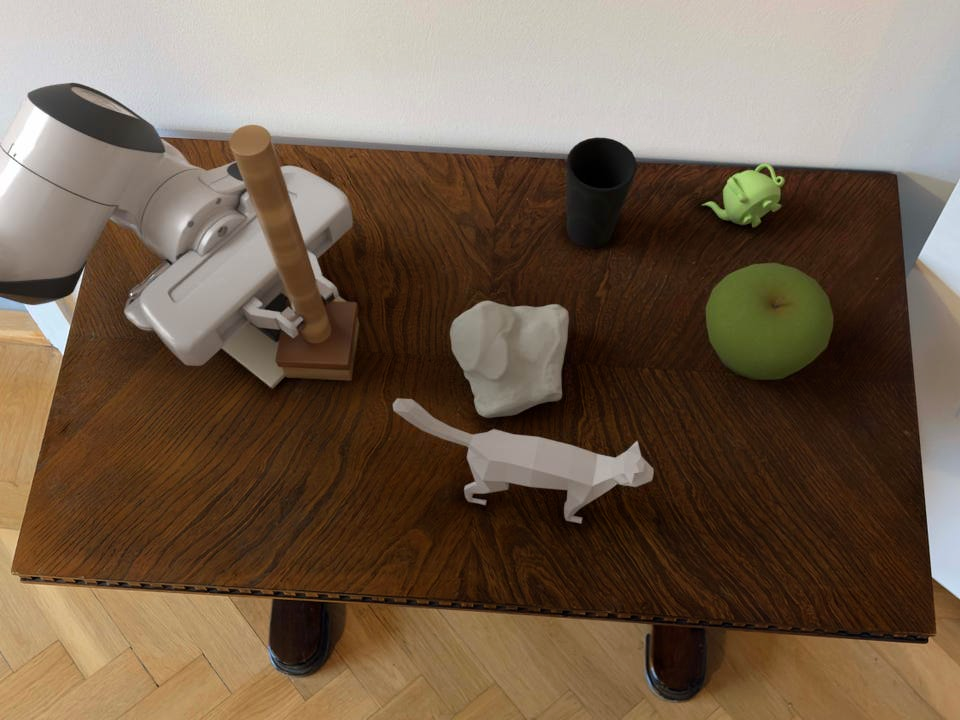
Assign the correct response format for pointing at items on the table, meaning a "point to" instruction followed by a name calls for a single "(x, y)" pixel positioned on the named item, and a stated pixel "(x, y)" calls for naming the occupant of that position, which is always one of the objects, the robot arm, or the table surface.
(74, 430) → the table surface
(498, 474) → the cat figurine
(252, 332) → the tile
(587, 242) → the cup
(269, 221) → the wooden post stand
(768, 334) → the apple
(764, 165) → the green kettle
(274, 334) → the felt pad
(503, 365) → the decorative stone
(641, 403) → the table surface
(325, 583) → the table surface
